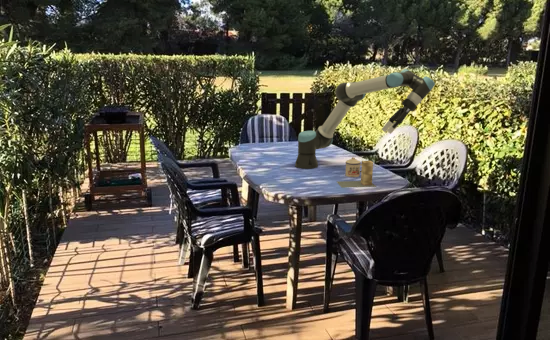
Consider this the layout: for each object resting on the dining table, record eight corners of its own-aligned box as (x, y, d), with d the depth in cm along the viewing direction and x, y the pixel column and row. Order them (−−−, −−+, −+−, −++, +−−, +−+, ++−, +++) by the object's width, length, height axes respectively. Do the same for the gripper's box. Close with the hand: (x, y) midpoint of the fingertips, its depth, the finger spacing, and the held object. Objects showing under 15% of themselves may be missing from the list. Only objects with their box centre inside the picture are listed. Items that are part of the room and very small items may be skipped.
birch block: (369, 182, 254) (370, 160, 251) (371, 184, 249) (373, 162, 246) (360, 182, 254) (361, 160, 251) (363, 185, 249) (364, 162, 246)
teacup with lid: (347, 178, 266) (348, 159, 263) (343, 174, 275) (343, 156, 272) (366, 177, 268) (367, 158, 265) (361, 174, 276) (362, 155, 274)
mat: (369, 181, 258) (369, 180, 258) (376, 187, 246) (376, 186, 246) (336, 182, 256) (336, 181, 256) (341, 188, 244) (341, 187, 244)
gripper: (423, 106, 231) (396, 137, 234) (410, 106, 256) (385, 134, 258) (413, 97, 230) (385, 128, 233) (400, 97, 255) (376, 126, 258)
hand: (385, 131), depth 246 cm, fingers open, 13 cm apart
